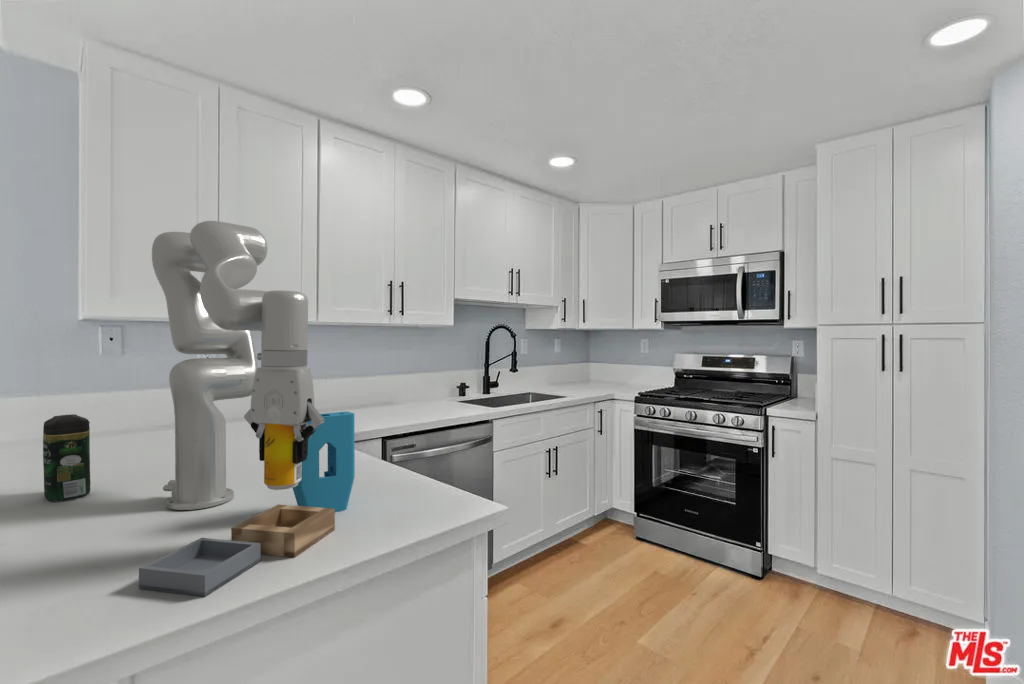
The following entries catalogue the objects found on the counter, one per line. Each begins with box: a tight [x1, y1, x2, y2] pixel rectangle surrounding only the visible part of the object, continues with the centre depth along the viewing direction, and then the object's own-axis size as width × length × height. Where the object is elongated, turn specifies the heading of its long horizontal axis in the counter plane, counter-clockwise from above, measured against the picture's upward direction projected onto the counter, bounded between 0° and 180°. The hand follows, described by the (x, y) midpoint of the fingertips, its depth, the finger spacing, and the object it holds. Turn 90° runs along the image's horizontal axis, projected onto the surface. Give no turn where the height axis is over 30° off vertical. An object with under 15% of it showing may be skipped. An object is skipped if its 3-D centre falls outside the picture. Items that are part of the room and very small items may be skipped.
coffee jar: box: [42, 413, 91, 502], centre depth 113 cm, size 10×8×19 cm
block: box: [292, 411, 356, 513], centre depth 103 cm, size 12×5×20 cm, turn 130°
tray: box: [138, 537, 262, 598], centre depth 75 cm, size 11×11×3 cm
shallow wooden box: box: [230, 504, 336, 558], centre depth 88 cm, size 12×12×4 cm
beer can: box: [263, 405, 302, 491], centre depth 89 cm, size 6×6×15 cm
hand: (283, 459), depth 89 cm, fingers closed on beer can, 6 cm apart
